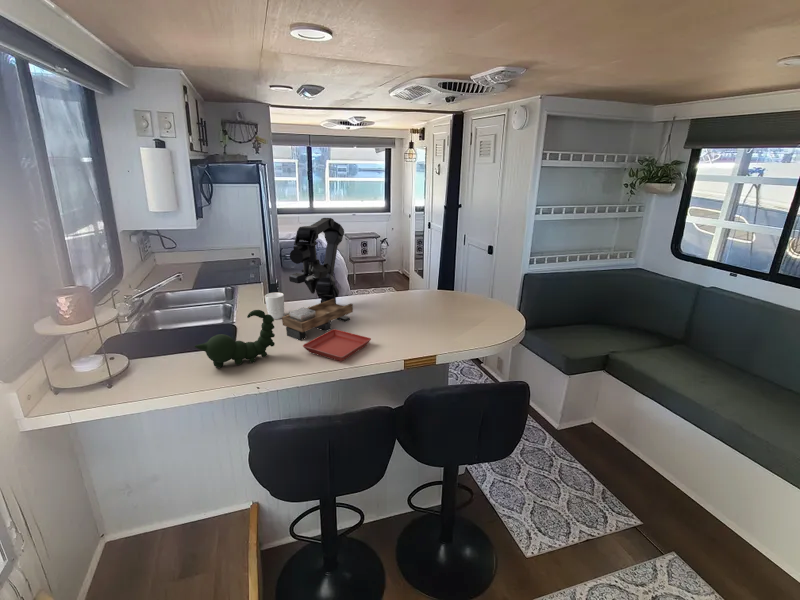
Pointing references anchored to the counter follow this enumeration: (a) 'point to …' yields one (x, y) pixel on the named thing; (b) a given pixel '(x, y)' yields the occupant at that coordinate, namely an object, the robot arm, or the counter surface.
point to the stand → (324, 327)
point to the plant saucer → (337, 344)
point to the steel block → (302, 314)
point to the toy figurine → (240, 344)
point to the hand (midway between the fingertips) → (312, 293)
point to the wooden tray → (319, 315)
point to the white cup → (275, 304)
